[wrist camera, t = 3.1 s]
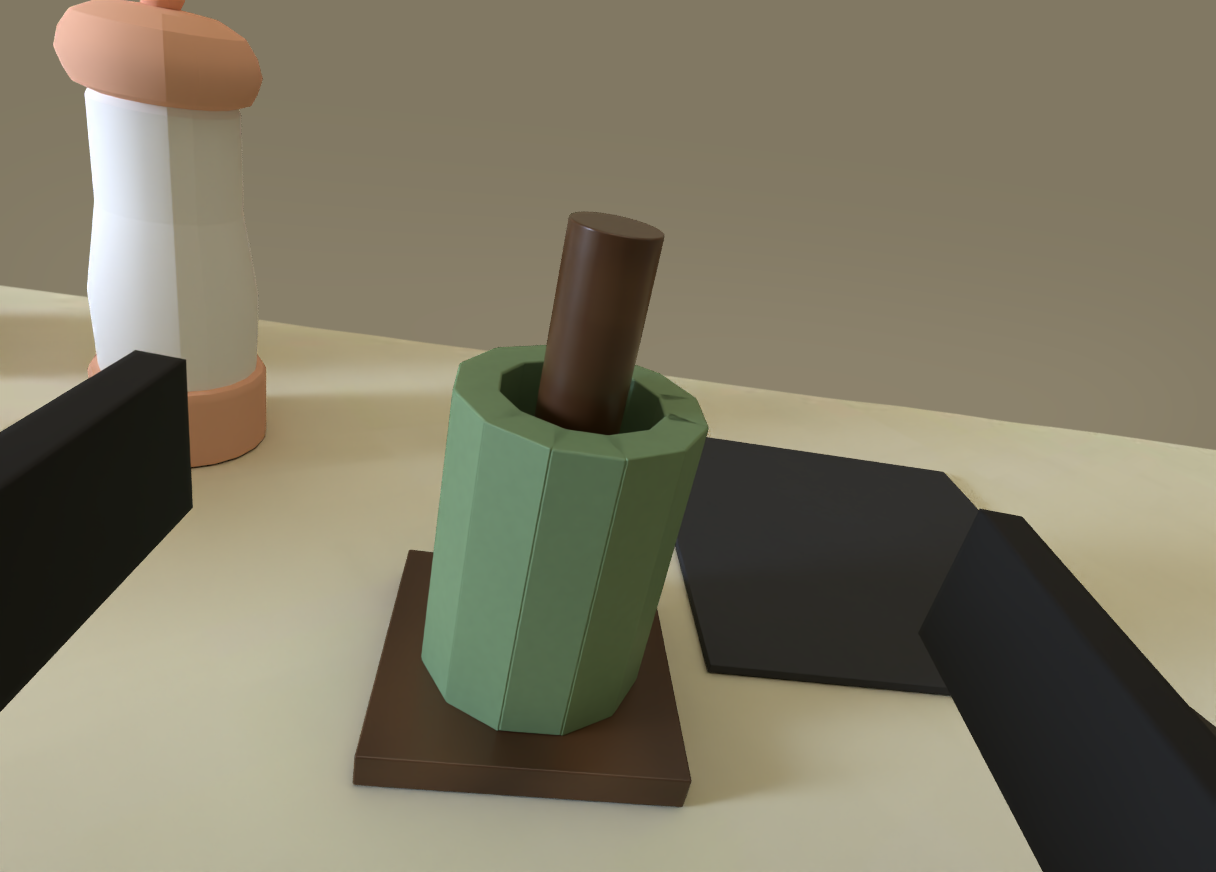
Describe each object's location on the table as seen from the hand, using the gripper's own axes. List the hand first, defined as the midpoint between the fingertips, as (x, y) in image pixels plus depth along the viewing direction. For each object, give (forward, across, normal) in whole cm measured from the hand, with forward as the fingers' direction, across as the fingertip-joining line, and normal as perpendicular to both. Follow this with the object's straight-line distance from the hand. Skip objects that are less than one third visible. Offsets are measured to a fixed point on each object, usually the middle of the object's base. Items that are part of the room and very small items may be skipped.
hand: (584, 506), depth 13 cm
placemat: (+22, +16, -13) cm, 30 cm away
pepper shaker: (+22, -18, -14) cm, 32 cm away
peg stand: (+10, 0, -13) cm, 17 cm away
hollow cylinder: (+10, 0, -12) cm, 16 cm away
